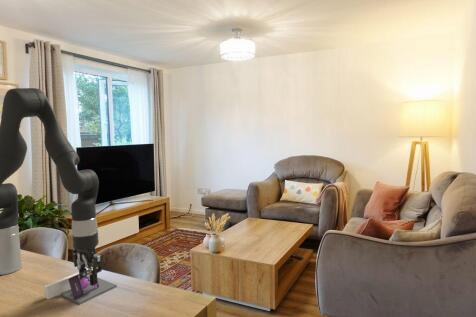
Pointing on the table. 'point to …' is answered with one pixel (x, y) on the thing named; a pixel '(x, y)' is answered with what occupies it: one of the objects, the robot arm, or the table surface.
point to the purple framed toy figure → (80, 284)
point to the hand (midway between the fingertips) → (88, 282)
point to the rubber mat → (102, 288)
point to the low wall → (58, 286)
